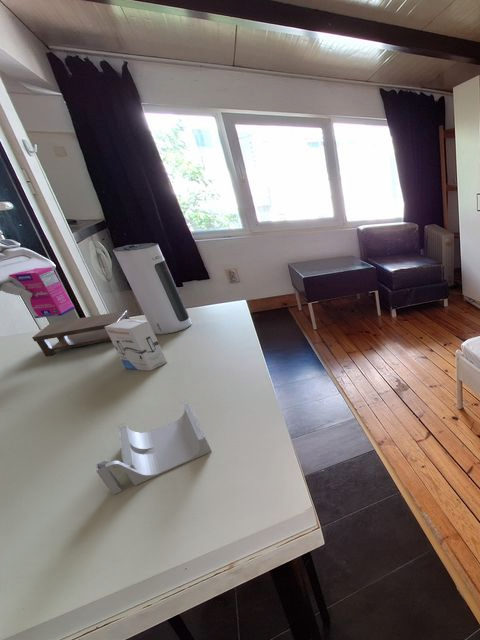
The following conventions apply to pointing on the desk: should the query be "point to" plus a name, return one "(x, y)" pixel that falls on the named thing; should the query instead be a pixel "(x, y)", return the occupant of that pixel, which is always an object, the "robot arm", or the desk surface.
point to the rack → (77, 332)
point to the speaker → (153, 287)
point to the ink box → (136, 344)
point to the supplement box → (43, 292)
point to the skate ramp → (156, 450)
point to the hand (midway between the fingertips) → (45, 291)
